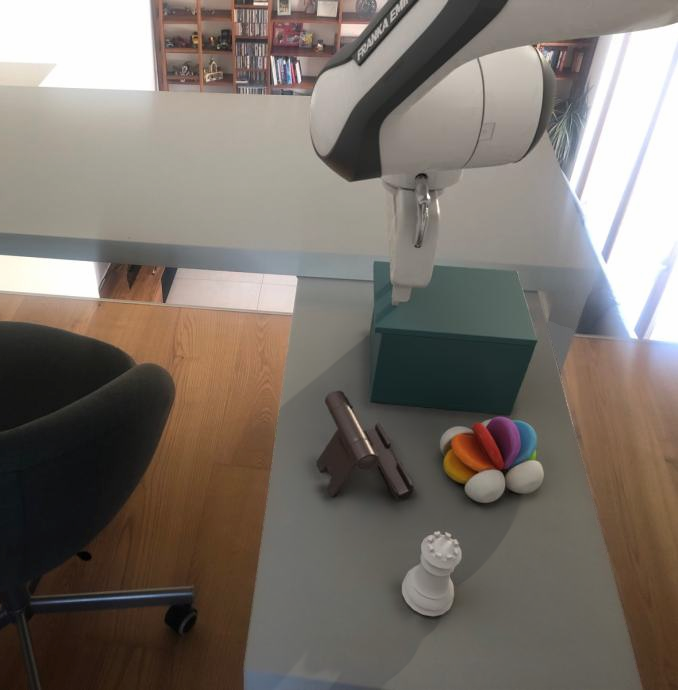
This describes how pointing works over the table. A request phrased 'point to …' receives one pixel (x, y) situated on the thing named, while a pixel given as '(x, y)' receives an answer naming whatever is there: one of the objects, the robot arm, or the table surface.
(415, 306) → the lid
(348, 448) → the tablet stand
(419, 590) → the rook chess piece
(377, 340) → the teal hinged box
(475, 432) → the multicoloured rounded lobed piece
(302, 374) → the table surface
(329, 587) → the table surface
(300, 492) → the table surface
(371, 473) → the table surface
